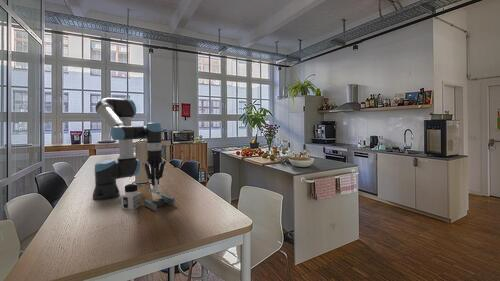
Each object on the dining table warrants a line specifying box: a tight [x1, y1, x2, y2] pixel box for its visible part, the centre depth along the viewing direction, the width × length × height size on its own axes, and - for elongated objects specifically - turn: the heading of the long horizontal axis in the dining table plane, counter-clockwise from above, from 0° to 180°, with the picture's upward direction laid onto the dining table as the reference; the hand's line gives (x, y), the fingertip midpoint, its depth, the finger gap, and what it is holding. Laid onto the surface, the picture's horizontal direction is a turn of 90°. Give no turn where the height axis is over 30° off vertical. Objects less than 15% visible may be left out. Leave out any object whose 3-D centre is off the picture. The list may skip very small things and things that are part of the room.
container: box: [120, 183, 143, 210], centre depth 139 cm, size 8×8×13 cm
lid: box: [147, 188, 174, 199], centre depth 142 cm, size 12×11×1 cm
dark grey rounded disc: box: [150, 198, 165, 208], centre depth 142 cm, size 7×7×3 cm
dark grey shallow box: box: [143, 195, 176, 212], centre depth 141 cm, size 14×12×5 cm
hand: (155, 190), depth 139 cm, fingers closed
